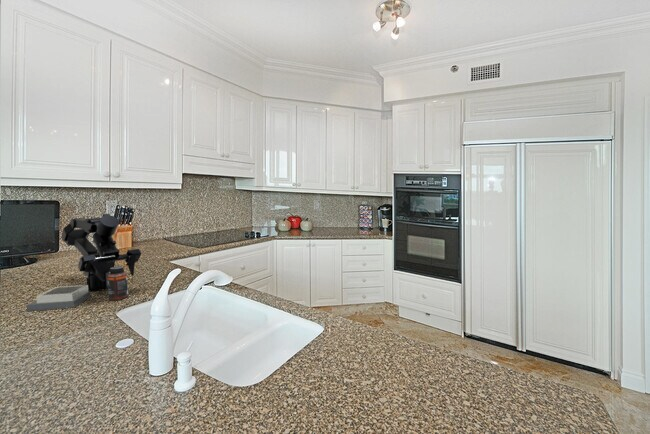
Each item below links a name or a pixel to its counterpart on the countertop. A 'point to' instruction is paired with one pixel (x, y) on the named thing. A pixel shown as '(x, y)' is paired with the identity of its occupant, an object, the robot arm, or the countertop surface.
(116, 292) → the supplement bottle
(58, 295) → the plate
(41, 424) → the countertop surface
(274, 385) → the countertop surface
